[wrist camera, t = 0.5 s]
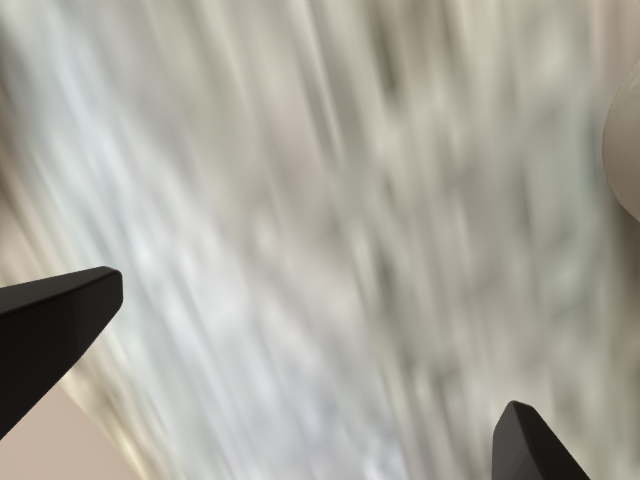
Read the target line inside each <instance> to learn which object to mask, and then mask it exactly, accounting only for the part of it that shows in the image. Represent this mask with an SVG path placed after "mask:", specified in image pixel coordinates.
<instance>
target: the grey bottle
mask: <svg viewBox="0 0 640 480" xmlns="http://www.w3.org/2000/svg"><path fill="white" fill-rule="evenodd" d="M602 154H603V163H604V169H605V174H606V177H607V181H608V183H609V186H610V188H611V190H612V192H613V194H614V195H615V197H616V199H617V200H618V201H619V203H620V204H621V206H622V207H624V208H625V209H626V210H627V211H628V212H629V213H630V214H631V215H632V216H633V217H634V218H635V219H636V220H637V221H639V222H640V59H639V60H638V62H637V63H636V64H635V65H634V67H633V68H632V69H631V71H630V72H629V74H628V75H627V77H626V78H625V80H624V81H623V83H622V85H621V86H620V88H619V90H618V92H617V93H616V95H615V97H614V100H613V102H612V104H611V106H610V109H609V112H608V115H607V118H606V122H605V126H604V131H603V141H602Z"/></svg>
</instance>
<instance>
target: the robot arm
mask: <svg viewBox="0 0 640 480" xmlns="http://www.w3.org/2000/svg"><path fill="white" fill-rule="evenodd" d="M122 303H123V280H122V274H121V272H120V271H118V270H116V269H113V268H110V267H106V266H101V267H96V268H92V269H87V270H82V271H78V272H73V273H68V274H64V275H59V276H54V277H49V278H45V279H40V280H35V281H31V282H26V283H21V284H17V285H12V286H7V287H3V288H0V440H1V439H2V438H3V437H4V436H5V435H6V434H7V433H8V432H9V431H10V430H11V429H12V428H13V427H14V426H15V425H16V424H17V422H19V421H20V420H21V419H22V417H24V416H25V415H26V414H27V413H28V411H30V409H31V408H32V407H33V406H34V405H35V404H36V403H37V402H38V401H39V400H40V399H41V398H42V397H43V396H44V395H45V394H46V393H47V392H48V391H49V390H50V389H51V388H52V387H53V386H54V385H55V384H56V383H57V382H58V381H59V380H60V379H61V378H62V377H63V376H64V375H65V374H66V373H67V372H68V371H69V370H70V368H71V367H72V366H73V365H74V364H75V363H76V362H77V361H78V360H79V359H80V358H81V356H82V355H83V354H84V353H85V352H86V351H87V349H88V348H89V347H90V346H91V344H92V343H93V342H94V341H95V339H96V338H97V337H98V336H99V334H100V333H101V332H102V331H103V329H104V328H105V327H106V326H107V324H108V323H109V322H110V321H111V319H112V318H113V317H114V316H115V314H116V313H117V312H118V311H119V309H120V307H121V305H122ZM492 480H590V478H589V477H588V476H587V475H586V473H585V472H584V471H583V469H582V468H581V467H580V466H579V464H578V463H577V462H576V461H575V459H574V458H573V457H572V455H571V454H570V453H569V452H568V450H567V449H566V448H565V447H564V445H563V444H562V443H561V441H560V440H559V439H558V438H557V436H556V435H555V434H554V433H553V431H552V430H551V429H550V427H549V426H548V425H547V424H546V422H545V421H544V420H543V419H542V417H541V416H540V415H539V413H538V412H537V411H536V410H535V409H534V408H533V407H532V406H530V405H527V404H524V403H521V402H518V401H515V400H513V401H510V402H509V403H508V405H507V406H506V408H505V410H504V412H503V414H502V416H501V417H500V419H499V421H498V423H497V425H496V427H495V430H494V434H493V450H492Z"/></svg>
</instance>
